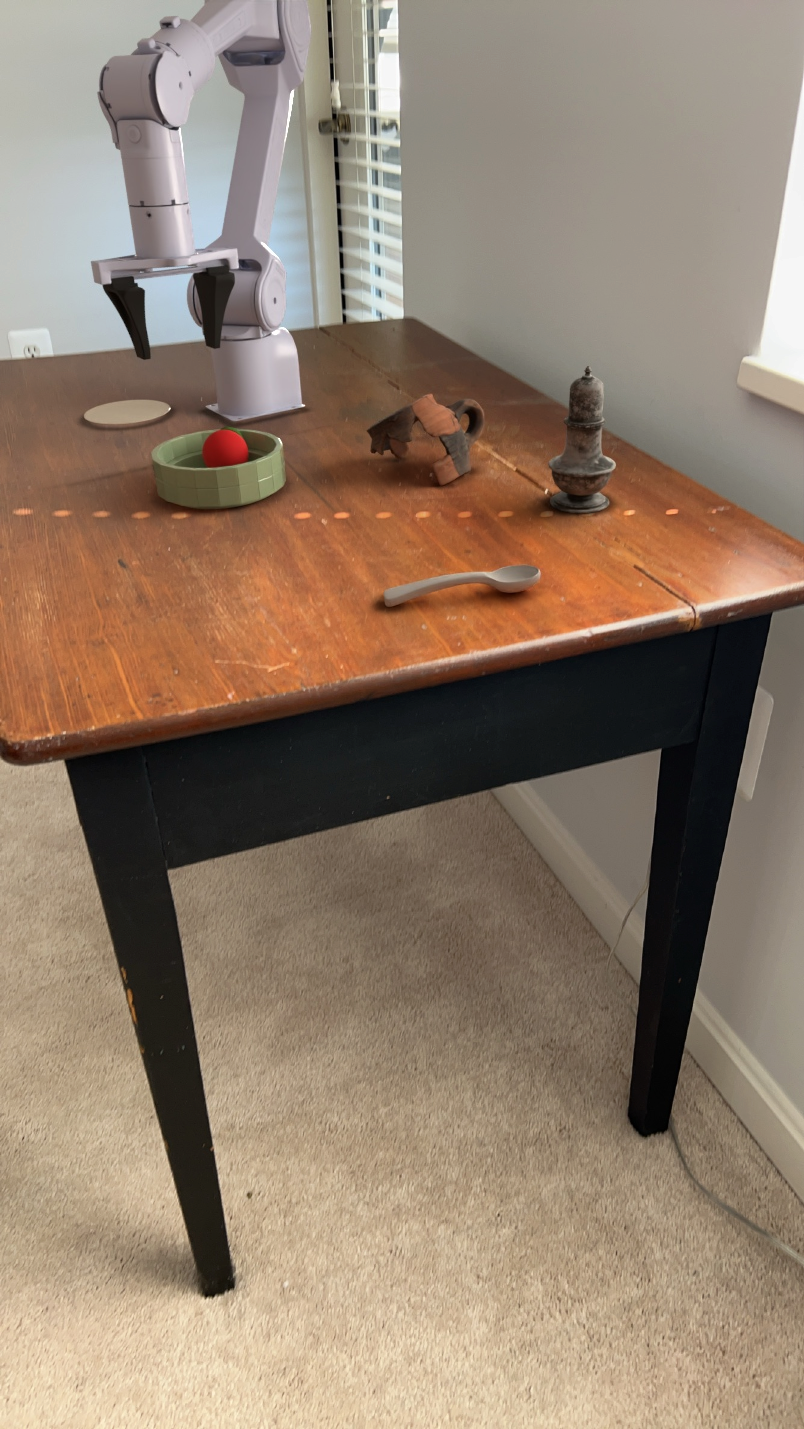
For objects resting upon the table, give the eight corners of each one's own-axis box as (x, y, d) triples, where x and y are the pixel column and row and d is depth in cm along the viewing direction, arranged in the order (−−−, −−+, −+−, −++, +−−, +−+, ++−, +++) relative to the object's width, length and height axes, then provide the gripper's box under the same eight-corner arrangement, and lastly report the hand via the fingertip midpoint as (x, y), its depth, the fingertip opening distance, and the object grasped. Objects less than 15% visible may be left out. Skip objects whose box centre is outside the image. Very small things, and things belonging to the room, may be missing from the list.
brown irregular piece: (423, 500, 94) (380, 419, 92) (384, 514, 103) (344, 440, 101) (519, 442, 98) (480, 363, 96) (474, 460, 106) (437, 388, 104)
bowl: (250, 459, 104) (246, 421, 102) (309, 492, 96) (305, 450, 93) (138, 485, 99) (131, 445, 97) (189, 522, 90) (183, 479, 88)
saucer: (151, 399, 125) (150, 394, 125) (184, 417, 118) (183, 412, 118) (72, 414, 121) (71, 409, 120) (102, 434, 114) (101, 429, 113)
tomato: (216, 491, 99) (225, 458, 102) (252, 478, 97) (261, 445, 100) (188, 459, 96) (199, 426, 99) (225, 445, 94) (235, 412, 97)
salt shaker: (540, 492, 93) (546, 359, 87) (603, 489, 94) (613, 355, 87) (554, 516, 88) (561, 376, 82) (620, 512, 89) (632, 372, 82)
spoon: (546, 593, 75) (545, 568, 74) (389, 621, 74) (386, 596, 73) (534, 576, 78) (534, 553, 77) (383, 603, 77) (379, 580, 76)
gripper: (100, 212, 90) (126, 369, 97) (246, 200, 97) (260, 348, 104) (74, 207, 95) (100, 357, 102) (214, 196, 102) (229, 337, 109)
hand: (179, 352), depth 103 cm, fingers open, 7 cm apart
